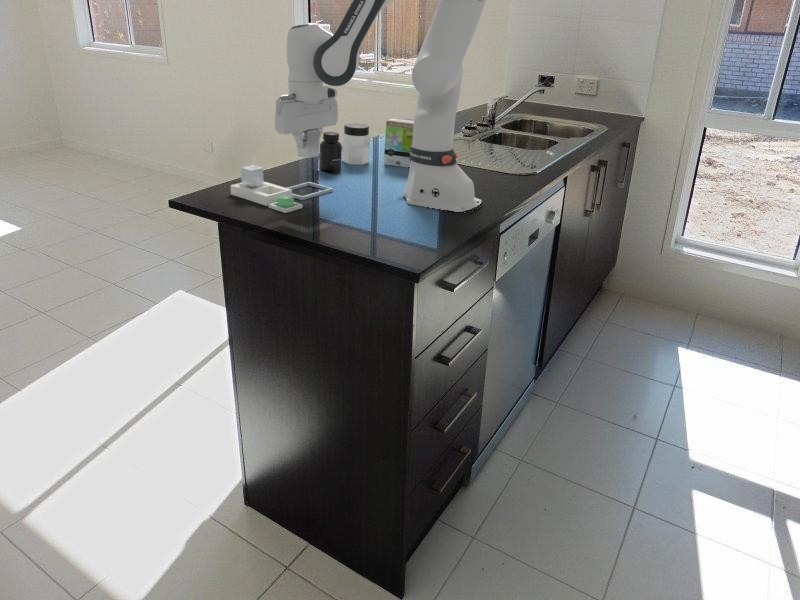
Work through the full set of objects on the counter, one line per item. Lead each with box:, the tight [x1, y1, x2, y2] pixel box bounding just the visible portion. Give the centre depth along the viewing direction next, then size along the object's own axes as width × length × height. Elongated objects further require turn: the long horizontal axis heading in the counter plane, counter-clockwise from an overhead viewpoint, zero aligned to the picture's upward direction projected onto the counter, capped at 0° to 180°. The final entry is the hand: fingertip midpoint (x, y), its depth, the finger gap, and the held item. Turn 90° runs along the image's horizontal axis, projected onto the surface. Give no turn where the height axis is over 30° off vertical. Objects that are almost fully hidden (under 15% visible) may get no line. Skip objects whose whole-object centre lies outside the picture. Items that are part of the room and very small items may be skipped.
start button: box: [277, 196, 295, 208], centre depth 158 cm, size 4×4×3 cm
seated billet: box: [240, 164, 265, 189], centre depth 166 cm, size 4×4×7 cm
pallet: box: [229, 180, 293, 207], centre depth 165 cm, size 14×9×4 cm, turn 54°
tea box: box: [383, 115, 414, 168], centre depth 208 cm, size 15×10×15 cm, turn 76°
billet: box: [297, 129, 320, 159], centre depth 166 cm, size 4×4×7 cm
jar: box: [341, 122, 371, 166], centre depth 208 cm, size 9×8×12 cm
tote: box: [286, 181, 334, 201], centre depth 172 cm, size 9×12×2 cm
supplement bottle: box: [318, 131, 343, 175], centre depth 194 cm, size 7×7×12 cm
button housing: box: [268, 201, 304, 214], centre depth 159 cm, size 6×6×2 cm
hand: (308, 146), depth 166 cm, fingers closed on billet, 4 cm apart
